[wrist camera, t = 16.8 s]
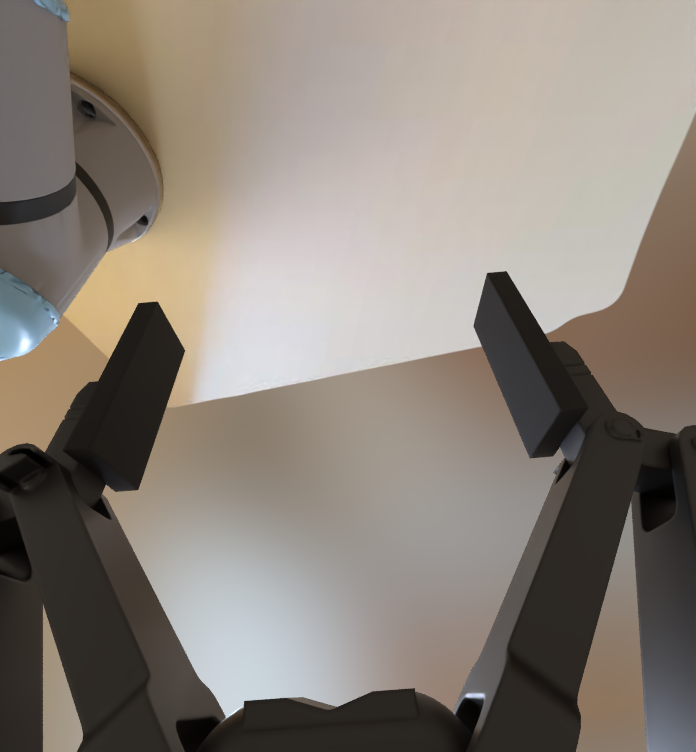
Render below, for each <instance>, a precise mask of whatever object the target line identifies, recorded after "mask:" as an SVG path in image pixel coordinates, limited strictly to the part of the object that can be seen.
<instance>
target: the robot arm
mask: <svg viewBox="0 0 696 752" xmlns="http://www.w3.org/2000/svg"><path fill="white" fill-rule="evenodd" d="M66 21H70V13H69V10H68V7H67V6H66V4H65V3H64V0H0V361H2V360H6V359H10V358H13V357H17V356H22V355H24V354H27V353H29V352H30V351H31V350H33V349H34V348H35V347H36V346H37V345H38V344H39V343H40V342H41V341H42V340H43V339H44V338H45V337H46V336H47V335H48V334H49V333H50V332H51V331H52V330H54V329H55V328H56V327H57V326H58V324H59V323H60V321H59V320H60V318H61V317H62V315H63V314H64V312H65V311H66V309H67V308H68V307H69V305H70V304H71V302H72V301H73V299H74V298H75V297H76V295H77V294H78V292H79V291H80V289H81V288H82V286H83V285H84V284H85V282H86V281H87V279H88V278H89V276H90V275H91V273H92V272H93V271H94V269H95V268H96V266H97V265H98V263H99V262H100V261H101V259H102V258H103V256H104V255H105V253H106V252H108V251H110V250H113V249H115V248H118V247H120V246H123V245H125V244H128V243H130V242H132V241H134V240H136V239H138V238H140V237H141V236H142V235H144V234H145V233H146V232H147V231H148V230H149V228H150V227H151V226H152V224H153V222H154V221H155V219H156V217H157V216H158V214H159V211H160V209H161V205H162V200H163V182H162V176H161V172H160V168H159V165H158V162H157V160H156V157H155V155H154V153H153V151H152V149H151V147H150V145H149V143H148V141H147V140H146V138H145V137H144V135H143V134H142V132H141V131H140V129H139V128H138V127H137V125H136V124H135V123H134V122H133V120H132V119H131V118H130V117H129V116H128V115H127V114H126V113H125V112H124V110H123V109H122V108H121V107H120V106H119V105H117V104H116V103H115V102H114V101H113V100H112V99H111V98H109V97H108V96H107V95H106V94H104V93H103V92H102V91H100V90H99V89H98V88H96V87H95V86H93V85H92V84H90V83H88V82H87V81H85V80H83V79H81V78H79V77H77V76H75V75H73V74H71V73H70V71H69V56H68V40H67V24H66ZM474 328H475V331H476V333H477V335H478V338H479V340H480V342H481V345H482V347H483V349H484V352H485V354H486V356H487V359H488V361H489V363H490V366H491V368H492V371H493V373H494V375H495V378H496V380H497V382H498V385H499V387H500V389H501V392H502V394H503V396H504V399H505V401H506V403H507V406H508V408H509V410H510V413H511V415H512V417H513V420H514V422H515V425H516V427H517V429H518V431H519V434H520V436H521V439H522V441H523V443H524V446H525V448H526V450H527V453H528V455H529V457H530V458H539V457H550V456H554V454H555V453H556V451H557V450H558V449H559V447H560V448H561V450H562V452H563V454H564V456H565V458H564V460H563V461H562V462H561V463H560V465H559V466H558V467H557V468H556V470H555V471H554V473H555V474H556V477H555V479H554V481H553V484H552V486H551V488H550V491H549V493H548V496H547V498H546V500H545V503H544V505H543V507H542V510H541V512H540V515H539V517H538V520H537V522H536V524H535V527H534V529H533V531H532V534H531V536H530V538H529V541H528V543H527V546H526V548H525V550H524V553H523V555H522V558H521V560H520V562H519V565H518V567H517V569H516V572H515V574H514V577H513V579H512V581H511V584H510V586H509V588H508V591H507V593H506V596H505V598H504V600H503V603H502V605H501V607H500V610H499V612H498V615H497V617H496V619H495V622H494V624H493V626H492V629H491V631H490V634H489V636H488V638H487V641H486V643H485V646H484V648H483V650H482V653H481V655H480V657H479V659H478V661H477V662H476V664H475V665H474V667H473V668H472V670H471V672H470V674H469V676H468V678H467V680H466V682H465V684H464V687H463V689H462V691H461V694H460V696H459V698H458V701H457V703H456V705H455V708H454V710H453V712H452V711H450V710H449V709H448V708H447V707H446V706H444V705H443V704H441V703H440V702H438V701H436V700H435V699H433V698H431V697H429V696H427V695H425V694H422V693H418V692H415V689H414V688H413V689H399V690H386V691H373V692H371V693H368V694H366V695H364V696H362V697H359V698H357V699H355V700H352V701H350V702H348V703H346V704H343V705H341V706H339V707H335V706H332V705H328V704H324V703H321V702H317V701H314V700H310V699H307V698H303V697H301V698H300V697H299V698H279V699H265V700H253V701H244V707H242V708H240V709H238V710H236V711H235V712H233V713H231V714H230V715H229V716H228V717H225V715H224V713H223V711H222V709H221V707H220V705H219V703H218V701H217V700H216V698H215V696H214V695H213V693H212V692H211V691H210V689H209V688H208V687H207V686H206V685H205V684H204V683H203V682H202V681H201V680H200V679H199V677H198V676H197V674H196V672H195V671H194V669H193V667H192V665H191V663H190V661H189V659H188V657H187V655H186V653H185V651H184V649H183V647H182V645H181V643H180V641H179V639H178V637H177V635H176V633H175V631H174V630H173V627H172V625H171V624H170V622H169V620H168V618H167V616H166V614H165V612H164V610H163V608H162V606H161V604H160V602H159V600H158V598H157V596H156V594H155V592H154V590H153V588H152V586H151V584H150V582H149V580H148V578H147V576H146V575H145V572H144V570H143V569H142V567H141V565H140V563H139V561H138V559H137V557H136V555H135V553H134V551H133V549H132V547H131V545H130V543H129V541H128V539H127V537H126V535H125V533H124V531H123V530H122V527H121V525H120V523H119V522H118V519H117V517H116V516H115V514H114V512H113V510H112V508H111V506H110V504H109V502H108V500H107V498H106V497H105V496H104V495H103V494H102V492H103V490H104V488H105V485H107V486H109V487H110V488H111V489H113V490H114V491H115V492H119V491H132V490H138V489H139V486H140V483H141V480H142V477H143V474H144V471H145V468H146V465H147V462H148V459H149V456H150V453H151V451H152V447H153V445H154V441H155V438H156V435H157V433H158V430H159V426H160V424H161V421H162V418H163V415H164V411H165V409H166V406H167V403H168V400H169V397H170V394H171V391H172V388H173V385H174V382H175V379H176V376H177V373H178V370H179V367H180V364H181V361H182V358H183V355H184V352H185V350H184V348H183V346H182V344H181V342H180V341H179V339H178V337H177V335H176V334H175V332H174V330H173V328H172V326H171V325H170V323H169V321H168V319H167V318H166V316H165V314H164V312H163V310H162V309H161V307H160V305H159V303H158V302H148V303H138V305H137V307H136V309H135V311H134V313H133V315H132V317H131V319H130V321H129V323H128V325H127V327H126V328H125V330H124V332H123V334H122V336H121V338H120V340H119V342H118V344H117V346H116V348H115V350H114V352H113V354H112V355H111V357H110V359H109V361H108V363H107V365H106V367H105V369H104V371H103V373H102V375H101V377H100V379H99V381H97V382H89V383H88V384H87V385H86V386H85V387H84V388H83V389H82V390H81V391H80V392H79V393H78V394H77V395H76V397H75V399H74V401H73V402H72V404H71V406H70V409H69V410H68V411H67V414H66V415H65V420H63V421H62V422H61V424H60V426H59V428H58V430H57V431H56V433H55V435H54V437H53V439H52V441H51V442H50V444H49V446H48V448H47V450H46V451H45V452H43V451H42V450H41V449H39V448H38V447H36V446H35V445H33V444H28V443H26V444H20V445H16V446H14V447H12V448H9V449H7V450H6V451H4V452H3V453H1V454H0V752H43V605H44V608H45V611H46V614H47V617H48V620H49V624H50V627H51V630H52V633H53V637H54V640H55V643H56V646H57V649H58V652H59V655H60V659H61V662H62V665H63V668H64V672H65V674H66V678H67V681H68V684H69V687H70V691H71V694H72V697H73V700H74V703H75V706H76V710H77V713H78V716H79V719H80V722H81V726H82V730H83V741H82V743H81V745H80V747H79V749H78V751H77V752H576V748H577V744H578V739H579V734H580V729H581V715H580V712H579V708H578V705H577V697H578V692H579V687H580V684H581V680H582V677H583V673H584V669H585V666H586V662H587V658H588V655H589V651H590V648H591V644H592V640H593V637H594V632H595V629H596V626H597V622H598V618H599V614H600V611H601V607H602V604H603V600H604V597H605V593H606V589H607V585H608V582H609V578H610V574H611V571H612V567H613V564H614V560H615V557H616V553H617V549H618V546H619V542H620V538H621V534H622V531H623V527H624V524H625V520H626V517H627V513H628V509H629V506H630V502H631V504H632V519H633V535H634V551H635V567H636V582H637V598H638V614H639V631H640V646H641V662H642V677H643V693H644V710H645V726H646V742H647V752H696V425H692V426H687V427H684V428H683V429H682V430H681V431H680V432H679V433H678V434H674V433H668V432H663V431H658V430H652V429H647V428H644V427H643V426H642V425H641V424H640V423H639V422H638V421H636V420H635V419H634V418H632V417H630V416H628V415H627V414H624V413H620V412H617V411H616V409H615V408H614V407H613V405H612V404H611V402H610V401H609V399H608V398H607V396H606V394H605V393H604V392H603V390H602V388H601V387H600V386H599V384H598V382H597V381H596V379H595V378H594V376H593V375H591V372H590V370H589V369H588V367H587V366H586V365H584V361H583V360H582V358H581V357H580V355H579V354H578V352H577V351H576V350H575V349H573V348H572V347H571V346H569V345H568V344H567V343H566V342H564V341H561V342H549V341H548V339H547V337H546V336H545V334H544V332H543V331H542V329H541V327H540V326H539V324H538V322H537V321H536V319H535V317H534V316H533V314H532V313H531V311H530V309H529V308H528V306H527V304H526V303H525V301H524V299H523V298H522V296H521V294H520V293H519V291H518V289H517V288H516V286H515V284H514V283H513V281H512V280H511V278H510V276H509V275H508V273H507V271H505V272H494V273H487V276H486V279H485V283H484V287H483V291H482V295H481V299H480V303H479V307H478V311H477V314H476V318H475V322H474Z"/></svg>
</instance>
